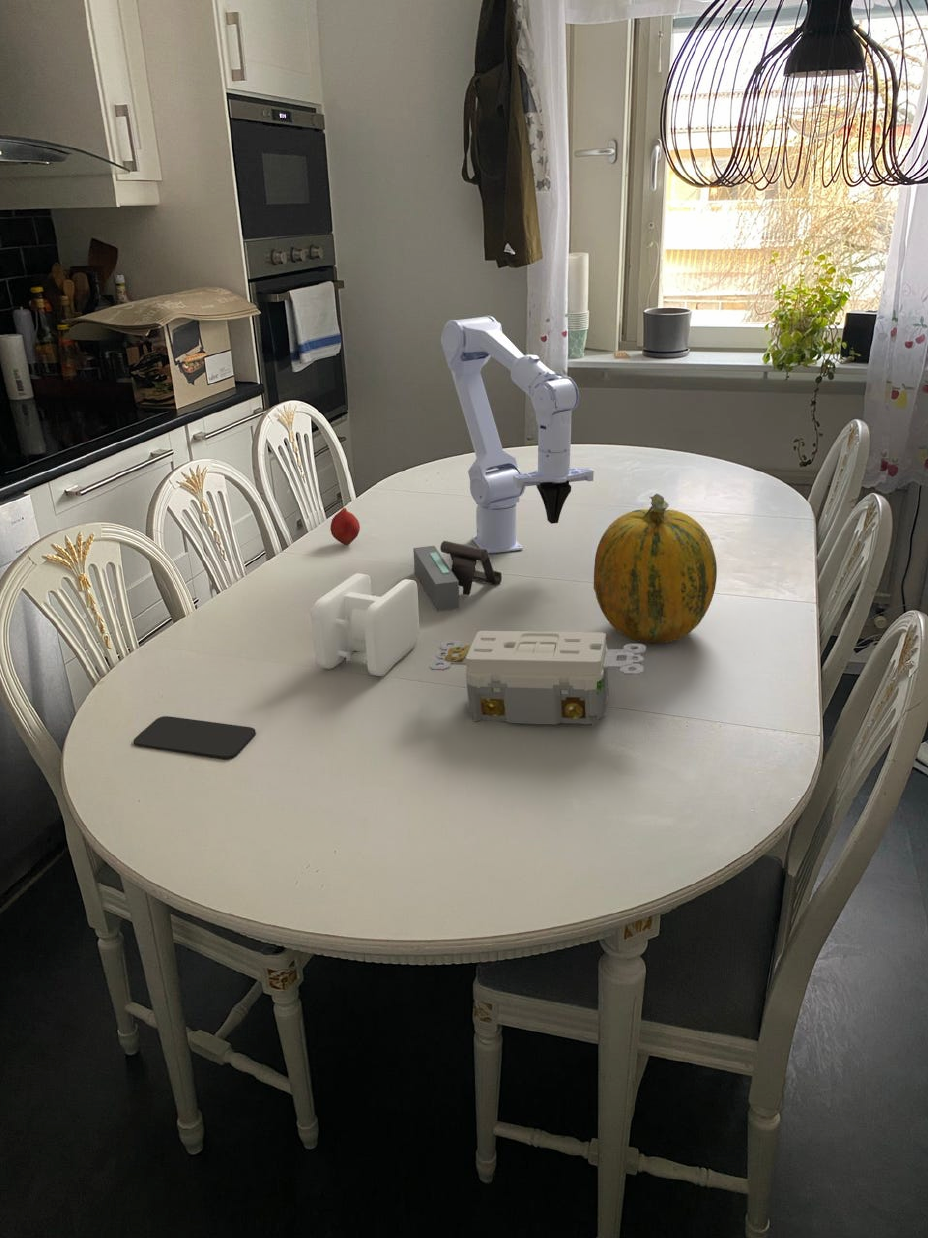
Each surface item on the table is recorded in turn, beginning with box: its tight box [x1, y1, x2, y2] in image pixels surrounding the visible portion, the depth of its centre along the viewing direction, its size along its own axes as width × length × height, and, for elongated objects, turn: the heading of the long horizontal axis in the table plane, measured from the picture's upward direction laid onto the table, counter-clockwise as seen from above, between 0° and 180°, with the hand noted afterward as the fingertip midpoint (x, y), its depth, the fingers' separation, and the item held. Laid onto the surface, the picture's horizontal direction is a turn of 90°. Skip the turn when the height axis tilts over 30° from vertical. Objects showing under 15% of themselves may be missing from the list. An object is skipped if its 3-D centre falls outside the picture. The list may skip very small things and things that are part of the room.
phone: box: [133, 715, 257, 761], centre depth 125 cm, size 7×1×15 cm
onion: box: [329, 507, 361, 546], centre depth 189 cm, size 6×6×8 cm
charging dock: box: [412, 545, 460, 612], centre depth 168 cm, size 18×4×5 cm, turn 15°
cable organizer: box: [310, 573, 420, 677], centre depth 142 cm, size 15×11×12 cm
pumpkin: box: [593, 493, 718, 644], centre depth 146 cm, size 19×19×25 cm
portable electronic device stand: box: [440, 540, 503, 596], centre depth 169 cm, size 9×8×8 cm
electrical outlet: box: [427, 630, 647, 726], centre depth 128 cm, size 12×28×10 cm, turn 78°
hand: (552, 521), depth 172 cm, fingers closed
